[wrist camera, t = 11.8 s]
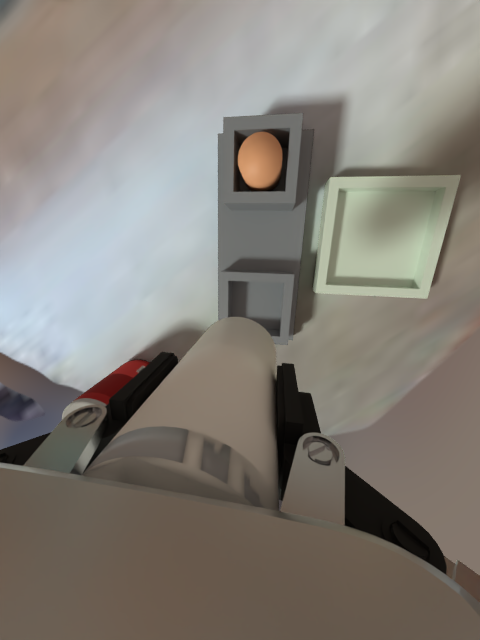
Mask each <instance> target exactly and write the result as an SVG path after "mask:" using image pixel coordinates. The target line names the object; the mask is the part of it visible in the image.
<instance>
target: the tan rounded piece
mask: <svg viewBox="0 0 480 640" xmlns="http://www.w3.org/2000/svg"><path fill="white" fill-rule="evenodd" d="M238 166H239V169H240V172H241V174H242V176H243V179H244V181H245V183H246V185H247V187H248V188H249V189H250V190H251V191H252V192H271V191H272V190H273V189H274V188H275V187H276V186H277V184H278V183H279V180H280V177H281V169H282V148H281V145H280V143H279V141H278V140H277V139H276V138H275V137H274V136H273V135H272V134H270V133H267V132H256V133H254V134H252V135H250V136H249V137H248V138H246V140H245V141H244V142H243V143H242V145H241V147H240V150H239V154H238Z"/></svg>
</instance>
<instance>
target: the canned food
mask: <svg viewBox="0 0 480 640" xmlns="http://www.w3.org/2000/svg"><path fill="white" fill-rule="evenodd" d="M148 364H149V362H147V361H143V360H133V361H129V362H127V363H125V364H123V365H122V366H120V367H119V368H118V369H116V370H115V371H114V372H112V373H111V374H109V375H108V376H107V377H105V378H104V379H103V380H101V381H100V382H98V383H97V384H96V385H94V386H93V387H92V388H90V389H89V390H88V391H86V392H85V393H84V394H82V395H81V396H79V397H78V398H77V399H76V400H74V401H73V402H71V404H70V405H68V406H67V407H66V408H65V410H64V412H63V414H62V420H63V418H64V417H66V416H67V415H68V414H69V413H71V412H72V411H74V410H76V409H78V408H80V407H84V406H87V405H93V404H97V405H102V406H104V407H105V406H106V405H107V404H108V403H109V399H110V398H111V397H112V396H113V395H114V394H116V393H117V392H118V391H119V390H120V389H121V388H122V387H123V386H124V385H126V384H127V383H128V382H129V381H130V380H131V379H132V378H133V377H135V376H136V375H137V374H138V373H139V372H140V371H141V370H142V369H144V368H145V367H146V366H147V365H148Z"/></svg>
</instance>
